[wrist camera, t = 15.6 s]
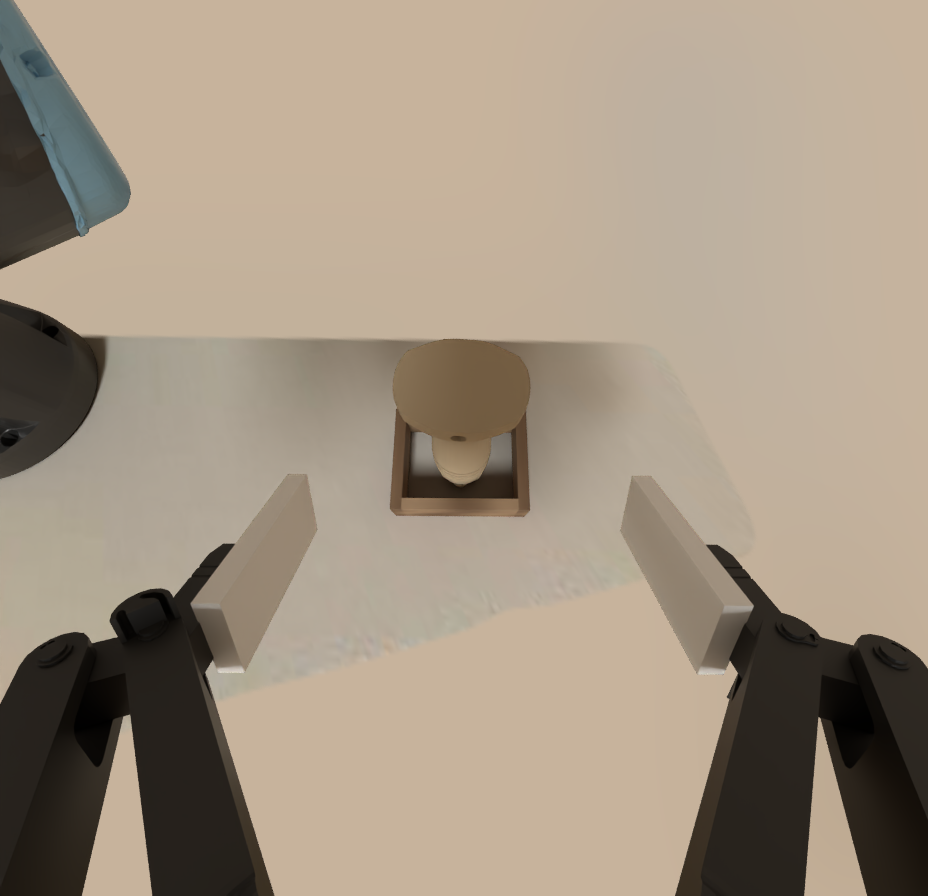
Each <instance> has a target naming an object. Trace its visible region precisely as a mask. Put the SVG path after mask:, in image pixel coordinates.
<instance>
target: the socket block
mask: <svg viewBox="0 0 928 896" xmlns="http://www.w3.org/2000/svg"><path fill="white" fill-rule="evenodd" d="M411 432H422V431H420V430H418V429H416V428H415V427H413V426H411V425H409V424H408V423H406V422H405V421H404V420H403V419H402V417H401V415H400V413H399V411H398V409H396V422H395V437H394V453H393V468H392V484H391V499H390V509H391V511H392V512H393V513H394V514H395V515H396V516H514V517H524V516H525V515H526V514H527V513H528V512H529V510H530V500H529V476H528V453H527V430H526V410H525V413H524V415H523V417H522V419H521V420H520V422H519V423H518V424H517V426H516V427H515V428H514V429H512V430H510V431H507V432H505V433H511V438H512V471H513V499H481V498H408V479H409V459H410V440H411Z"/></svg>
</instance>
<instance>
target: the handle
mask: <svg viewBox="0 0 928 896" xmlns="http://www.w3.org/2000/svg"><path fill="white" fill-rule="evenodd" d="M393 395H394V400H395V403H396V406H397V408H398V411H399V413H400V415H401V417H402V419H403V420H404V421H405V422H406V423H408V424H409V425H411V426H413V427H415V428H416V429H418V430H420V431H422V432H424V433H426V434H428V435H431V436H432V451H433V457H434V460H435V463H436V465H437V467H438V469H439V471H440V472H441V474H442V476H443V477H444V478H446V479H447V480H449V481H450V482H452V483H454V484H455V486H456V487H459V488H463V487H465V485H466V484H467V483H471V482H472V481H474V480H478V479H479V478H480V476H481V474H482V472H483V471H484V469H485V467H486V465H487V463H488V460H489V456H490V450H491V437H494V436H497V435H500V434H502V433H505V432H507V431H510V430H512V429H514V428H515V427H516V426H517V424H518V423H519V422H520V420H521V419H522V417H523V415H524V413H525V410H526V408H527V404H528V401H529V396H530V378H529V374H528V370H527V368H526V366H525V364H524V363H523V361H522V360H521V358H520V357H519V356H517V355H515V354H513V353H511V352H509V351H507V350H504V349H502V348H500V347H498V346H496V345H493V344H491V343H488V342H484V341H478V340H464V339H443V340H439V341H434V342H431V343H428V344H425V345H422V346H419V347H416V348H414V349H411V350H408V351H407V352H406V353H405V354H404V356H403V357H402V358H401V360H400V361H399V363H398V365H397V368H396V370H395V374H394V378H393Z"/></svg>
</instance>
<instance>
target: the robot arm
mask: <svg viewBox="0 0 928 896" xmlns="http://www.w3.org/2000/svg"><path fill="white" fill-rule="evenodd" d="M130 195H131V192H130V186H129V183H128V180H127V178H126V176H125V174H124V173H123V171H122V169H121V167H120V166H119V164H118V163H117V161H116V159H115V158H114V156H113V154H112V153H111V151H110V150H109V148H108V146H107V145H106V143H105V142H104V140H103V138H102V137H101V135H100V134H99V132H98V131H97V129H96V128H95V126H94V124H93V123H92V121H91V120H90V118H89V116H88V115H87V113H86V112H85V110H84V109H83V107H82V105H81V104H80V102H79V101H78V99H77V98H76V96H75V95H74V93H73V92H72V90H71V88H70V87H69V85H68V84H67V82H66V80H65V79H64V77H63V76H62V74H61V73H60V72H59V70H58V68H57V67H56V65H55V64H54V62H53V60H52V59H51V57H50V56H49V54H48V53H47V51H46V50H45V48H44V46H43V45H42V43H41V42H40V40H39V39H38V37H37V36H36V34H35V33H34V31H33V29H32V28H31V26H30V25H29V23H28V22H27V20H26V19H25V17H24V16H23V14H22V13H21V11H20V9H19V8H18V7H17V5H16V3H15V2H14V0H0V269H2V268H4V267H7V266H9V265H11V264H14V263H16V262H18V261H21V260H23V259H25V258H28V257H30V256H32V255H34V254H37V253H39V252H41V251H43V250H46V249H48V248H50V247H53V246H55V245H58V244H60V243H62V242H64V241H67V240H69V239H71V238H74V237H76V236H80V237H82V236H85V234H87V233H88V232H89V228H91V227H93V226H95V225H97V224H99V223H101V222H103V221H105V220H107V219H109V218H111V217H113V216H115V215H117V214H119V213H120V212H122V211H123V210H124V209H125V208H126V207H127V205H128V203H129V199H130ZM96 385H97V366H96V361H95V358H94V355H93V353H92V351H91V349H90V347H89V346H88V344H87V343H86V342H85V340H84V339H83V338H82V337H81V336H79V335H78V334H77V333H75V332H73V331H72V330H71V329H69V328H67V327H66V326H65V325H63V324H62V323H60V322H58V321H57V320H55V319H54V318H52V317H50V316H48V315H46V314H43V313H41V312H39V311H36V310H33V309H30V308H27V307H24V306H21V305H18V304H14V303H11V302H8V301H5V300H2V299H0V479H1V478H5V477H8V476H11V475H14V474H16V473H19V472H21V471H23V470H25V469H27V468H29V467H31V466H33V465H35V464H37V463H38V462H40V461H41V460H43V459H45V458H46V457H47V456H49V455H50V454H51V453H53V452H54V451H55V450H56V449H58V448H59V447H60V446H61V445H62V444H63V443H64V442H65V441H66V440H67V439H68V438H69V437H70V436H71V435H72V434H73V433H74V431H75V430H76V429H77V427H78V426H79V425H80V423H81V422H82V420H83V419H84V417H85V415H86V414H87V412H88V410H89V408H90V405H91V403H92V400H93V398H94V394H95V390H96ZM316 531H317V524H316V519H315V514H314V509H313V504H312V498H311V493H310V488H309V483H308V478H307V475H305V474H288V475H287V476H286V478H285V479H284V480H283V482H282V483H281V484H280V486H279V487H278V488H277V490H276V491H275V492H274V494H273V495H272V496H271V497H270V499H269V500H268V501H267V503H266V504H265V505H264V507H263V508H262V509H261V511H260V512H259V513H258V515H257V516H256V517H255V519H254V520H253V521H252V523H251V524H250V525H249V527H248V528H247V529H246V531H245V532H244V533H243V535H242V536H241V537H240V539H239V540H238V541H237V543H236V544H222V545H221V546H220V547H218V548H217V549H215V550H214V551H213V552H211V553H210V554H209V555H208V556H207V557H206V558H205V560H204V561H203V562H202V563H201V564H200V567H199V568H197V569H196V571H195V572H194V573H193V574H192V577H191V578H189V579H188V580H187V582H186V583H185V584H184V585H183V587H182V588H181V589H180V590H179V591H178V593H177V594H176V595H175V596H174V598H173V596H172V594H171V593H170V592H169V591H168V590H165V589H161V588H160V589H150V590H146V591H143V592H140V593H138V594H136V595H134V596H132V597H130V598H128V599H126V600H125V601H124V602H122V603H121V604H120V605H118V606H117V608H116V609H115V610H114V611H113V613H112V614H111V618H110V623H111V625H112V627H113V629H114V630H115V632H116V634H117V636H118V637H117V638H112V639H108V640H104V641H100V642H96V643H91V641H90V639H89V638H88V637H87V636H86V635H85V634H84V633H79V632H73V633H67V634H63V635H60V636H58V637H55V638H53V639H50V640H48V641H47V642H45V643H43V644H42V645H40V646H38V647H37V648H36V649H34V650H33V651H32V652H31V653H30V654H28V655H27V656H26V658H25V659H24V660H23V662H22V663H21V664H20V666H19V668H18V670H17V672H16V674H15V676H14V678H13V680H12V682H11V684H10V686H9V688H8V690H7V692H6V694H5V696H4V698H3V700H2V702H1V704H0V896H82V892H83V888H84V884H85V880H86V875H87V870H88V867H89V862H90V858H91V854H92V849H93V845H94V840H95V836H96V832H97V827H98V823H99V819H100V815H101V810H102V806H103V802H104V797H105V793H106V789H107V784H108V780H109V776H110V771H111V767H112V763H113V758H114V754H115V750H116V746H117V741H118V737H119V733H120V728H121V724H122V720H123V716H126V715H130V716H131V724H132V732H133V740H134V748H135V757H136V765H137V772H138V781H139V789H140V797H141V805H142V814H143V822H144V830H145V838H146V847H147V855H148V863H149V871H150V880H151V888H152V896H274V893H273V890H272V887H271V883H270V880H269V877H268V874H267V870H266V867H265V864H264V861H263V858H262V854H261V851H260V848H259V844H258V841H257V838H256V834H255V831H254V828H253V824H252V821H251V818H250V815H249V812H248V808H247V805H246V802H245V799H244V795H243V792H242V789H241V785H240V782H239V779H238V776H237V772H236V769H235V766H234V763H233V759H232V756H231V753H230V750H229V746H228V743H227V740H226V737H225V733H224V730H223V727H222V724H221V720H220V717H219V714H218V711H217V707H216V704H215V701H214V698H213V694H212V691H211V688H210V685H209V681H208V678H207V676H206V674H205V672H206V670H207V668H208V667H209V665H210V663H211V662H212V660H213V661H214V663H215V666H216V668H217V671H218V673H245V671H246V669H247V667H248V665H249V663H250V661H251V659H252V657H253V655H254V653H255V651H256V649H257V647H258V645H259V643H260V642H261V640H262V638H263V636H264V634H265V632H266V630H267V628H268V626H269V624H270V622H271V620H272V618H273V616H274V614H275V612H276V610H277V608H278V606H279V604H280V602H281V600H282V598H283V596H284V594H285V592H286V590H287V588H288V586H289V585H290V583H291V581H292V579H293V577H294V575H295V573H296V571H297V569H298V567H299V565H300V563H301V561H302V559H303V557H304V555H305V553H306V551H307V549H308V547H309V545H310V543H311V541H312V539H313V537H314V535H315V533H316ZM620 531H621V533H622V535H623V537H624V539H625V541H626V542H627V544H628V546H629V548H630V550H631V552H632V554H633V556H634V557H635V559H636V561H637V563H638V565H639V567H640V569H641V570H642V572H643V574H644V576H645V578H646V580H647V582H648V583H649V585H650V587H651V589H652V591H653V593H654V595H655V597H656V598H657V600H658V602H659V604H660V606H661V608H662V610H663V611H664V613H665V615H666V617H667V619H668V621H669V623H670V625H671V626H672V628H673V630H674V632H675V634H676V636H677V637H678V639H679V641H680V643H681V645H682V647H683V649H684V651H685V653H686V654H687V656H688V658H689V660H690V662H691V664H692V665H693V667H694V669H695V671H696V673H697V674H715V675H717V674H718V675H723V674H724V672H725V670H726V668H727V666H728V663H729V661H731V663H732V664H733V666H734V667H735V669H736V671H737V672H738V675H737V677H736V679H735V681H734V683H733V685H732V687H731V690H730V692H729V694H728V696H727V698H729V703H728V707H727V710H726V714H725V717H724V721H723V724H722V728H721V732H720V735H719V739H718V743H717V746H716V750H715V753H714V757H713V761H712V764H711V768H710V772H709V775H708V779H707V782H706V786H705V789H704V793H703V797H702V800H701V804H700V808H699V811H698V815H697V818H696V822H695V826H694V829H693V833H692V837H691V840H690V844H689V847H688V851H687V855H686V858H685V862H684V866H683V869H682V873H681V876H680V880H679V883H678V887H677V891H676V894H675V896H804V890H805V878H806V865H807V852H808V840H809V827H810V814H811V802H812V789H813V777H814V765H815V751H816V739H817V726H818V717H820V718H821V722H822V726H823V729H824V733H825V737H826V741H827V745H828V748H829V752H830V756H831V760H832V763H833V767H834V771H835V775H836V779H837V782H838V786H839V790H840V794H841V798H842V802H843V806H844V809H845V813H846V817H847V821H848V824H849V828H850V832H851V836H852V840H853V844H854V847H855V851H856V855H857V859H858V863H859V866H860V870H861V874H862V878H863V881H864V885H865V889H866V893H867V896H928V668H927V667H926V666H925V664H924V663H923V662H922V661H921V659H920V658H919V657H917V656H916V655H915V654H914V653H913V652H911V651H910V650H909V649H907V648H906V647H904V646H902V645H900V644H898V643H897V642H895V641H893V640H890V639H888V638H885V637H883V636H878V635H872V634H867V635H861V636H860V637H859V638H858V639H857V641H856V642H855V644H854V645H849V644H845V643H841V642H837V641H833V640H829V639H825V638H822V637H820V636H819V634H818V633H817V632H816V631H815V630H814V629H813V628H812V627H810V626H809V625H808V624H807V623H805V622H803V621H801V620H800V619H798V618H796V617H793V616H790V615H787V614H784V613H781V612H780V611H779V610H778V608H777V607H776V606H775V605H774V604H773V602H772V601H771V600H770V599H769V598H768V597H767V595H766V594H765V593H764V592H763V591H762V589H761V588H760V587H759V586H758V585H757V584H756V582H755V581H754V580H753V579H751V578H750V575H749V574H748V573H747V572H746V571H745V570H744V569H742V566H741V565H740V564H739V562H738V561H737V560H736V559H735V558H734V557H733V555H731V554H730V553H728V552H727V551H726V550H724V549H723V548H721V547H720V546H718V545H705V543H704V542H703V541H702V540H701V538H700V537H699V536H698V535H697V533H696V532H695V531H694V530H693V528H692V527H691V526H690V525H689V523H688V522H687V521H686V519H685V518H684V517H683V516H682V514H681V513H680V512H679V511H678V509H677V508H676V507H675V506H674V504H673V503H672V502H671V501H670V499H669V498H668V497H667V495H666V494H665V493H664V492H663V490H662V489H661V488H660V487H659V485H658V484H657V483H656V482H655V480H654V479H653V478H652V477H651V476H632V479H631V483H630V488H629V493H628V497H627V502H626V507H625V511H624V516H623V520H622V525H621V530H620Z"/></svg>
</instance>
